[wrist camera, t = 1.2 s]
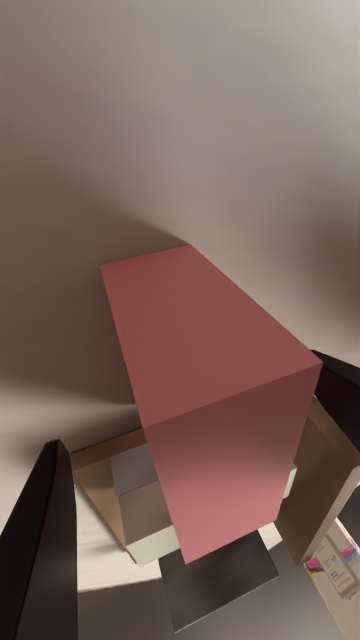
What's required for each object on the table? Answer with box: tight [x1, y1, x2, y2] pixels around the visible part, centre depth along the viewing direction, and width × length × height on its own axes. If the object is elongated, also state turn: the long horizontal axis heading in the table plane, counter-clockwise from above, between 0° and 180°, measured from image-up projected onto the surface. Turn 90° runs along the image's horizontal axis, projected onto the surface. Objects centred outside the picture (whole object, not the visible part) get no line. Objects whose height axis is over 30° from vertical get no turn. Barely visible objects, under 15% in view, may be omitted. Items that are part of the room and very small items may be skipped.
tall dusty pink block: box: [99, 244, 323, 565], centre depth 10 cm, size 4×8×7 cm, turn 5°
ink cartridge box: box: [303, 517, 360, 640], centre depth 26 cm, size 9×5×15 cm, turn 32°
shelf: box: [71, 395, 360, 633], centre depth 19 cm, size 14×17×6 cm
